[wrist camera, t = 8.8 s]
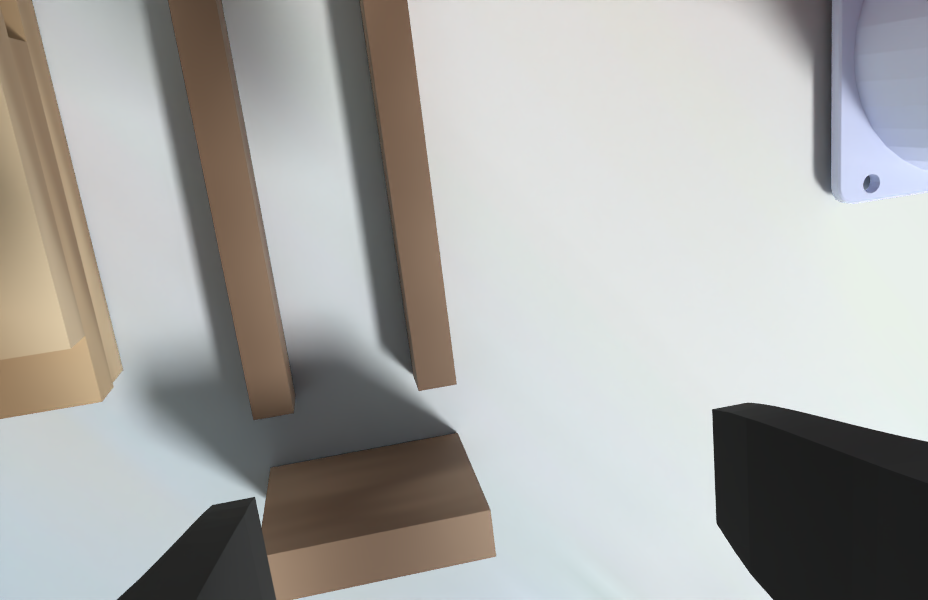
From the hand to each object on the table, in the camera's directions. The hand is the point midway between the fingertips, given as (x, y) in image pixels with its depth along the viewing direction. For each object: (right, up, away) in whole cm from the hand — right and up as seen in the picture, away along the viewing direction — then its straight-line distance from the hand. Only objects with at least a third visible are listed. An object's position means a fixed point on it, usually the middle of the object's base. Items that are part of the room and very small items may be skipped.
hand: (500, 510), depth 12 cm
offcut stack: (-11, +6, +6) cm, 14 cm away
